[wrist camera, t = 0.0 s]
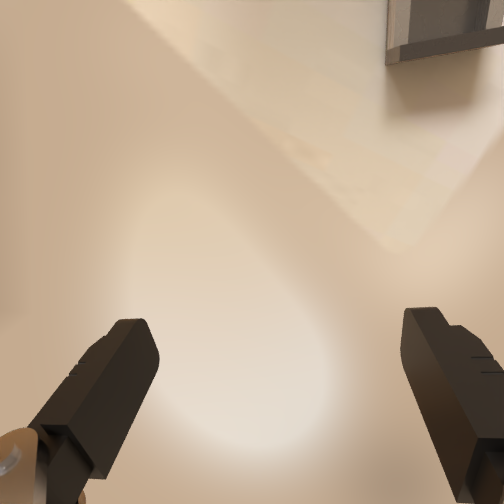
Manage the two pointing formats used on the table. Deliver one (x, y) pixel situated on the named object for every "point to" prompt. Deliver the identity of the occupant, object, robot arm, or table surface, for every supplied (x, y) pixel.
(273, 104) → the table surface
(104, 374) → the robot arm
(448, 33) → the chute
